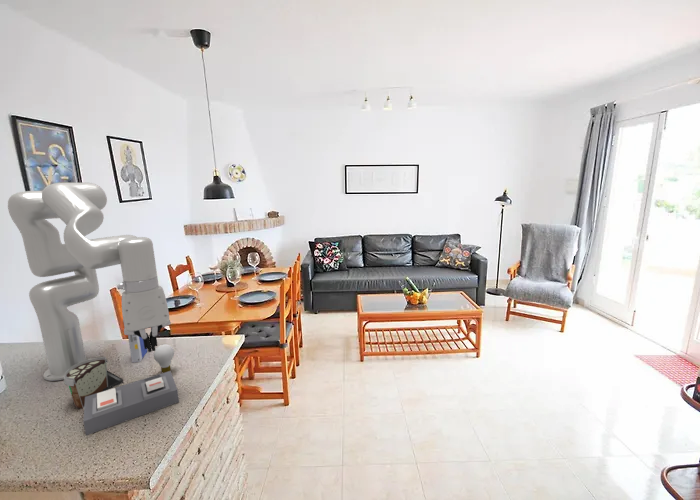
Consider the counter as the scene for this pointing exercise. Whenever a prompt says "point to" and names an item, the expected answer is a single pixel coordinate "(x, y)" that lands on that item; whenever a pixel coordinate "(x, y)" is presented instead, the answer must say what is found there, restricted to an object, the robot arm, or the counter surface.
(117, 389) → the rocker switch panel
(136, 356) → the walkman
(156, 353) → the light bulb
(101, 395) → the rocker
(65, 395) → the counter surface
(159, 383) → the rocker
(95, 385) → the food container
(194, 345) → the counter surface
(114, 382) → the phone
